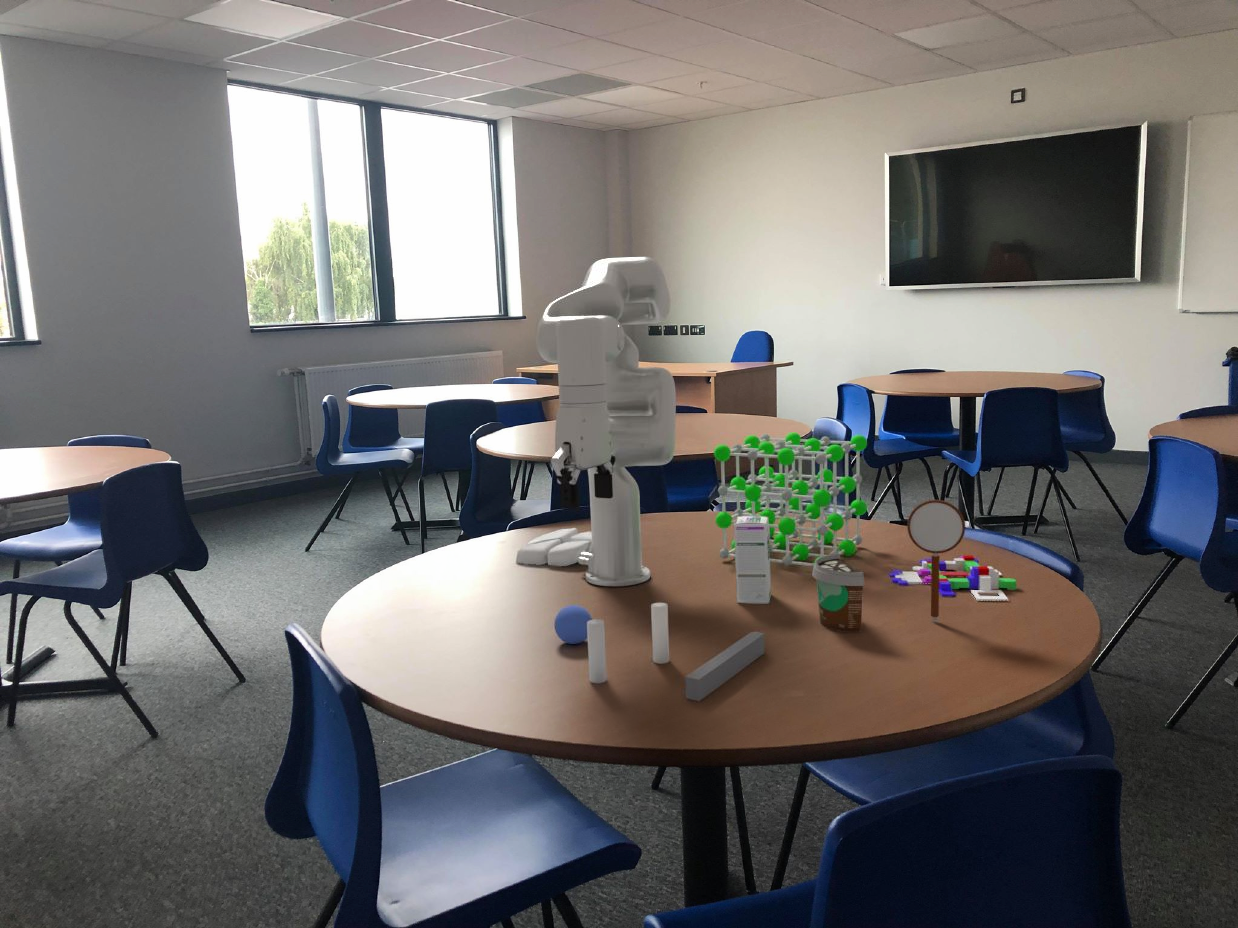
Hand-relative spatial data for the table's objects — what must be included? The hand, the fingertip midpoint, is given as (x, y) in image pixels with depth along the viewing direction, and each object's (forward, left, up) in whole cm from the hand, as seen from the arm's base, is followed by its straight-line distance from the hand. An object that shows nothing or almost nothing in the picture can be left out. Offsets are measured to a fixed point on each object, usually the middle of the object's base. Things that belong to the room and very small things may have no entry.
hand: (587, 503), depth 149 cm
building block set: (+43, +53, -22) cm, 71 cm away
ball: (+1, -6, -18) cm, 19 cm away
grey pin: (+13, -17, -21) cm, 30 cm away
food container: (+33, +21, -21) cm, 44 cm away
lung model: (-34, +39, -22) cm, 56 cm away
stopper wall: (+28, -6, -21) cm, 36 cm away
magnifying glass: (+47, +29, -21) cm, 59 cm away
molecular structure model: (+10, +58, -22) cm, 62 cm away
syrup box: (+16, +27, -21) cm, 38 cm away
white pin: (+17, -6, -21) cm, 28 cm away
